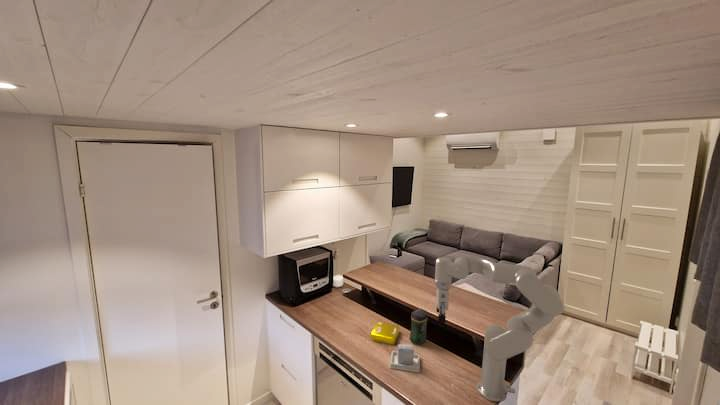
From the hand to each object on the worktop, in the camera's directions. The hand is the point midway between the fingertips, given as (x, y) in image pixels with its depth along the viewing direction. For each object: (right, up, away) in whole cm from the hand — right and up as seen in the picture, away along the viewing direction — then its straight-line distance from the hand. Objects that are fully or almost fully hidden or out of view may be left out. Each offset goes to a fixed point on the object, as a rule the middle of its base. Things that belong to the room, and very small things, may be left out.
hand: (440, 317), depth 141 cm
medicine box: (-15, -28, +12) cm, 34 cm away
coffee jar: (-5, -26, +31) cm, 41 cm away
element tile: (-24, -26, +36) cm, 50 cm away
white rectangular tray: (-15, -29, +12) cm, 35 cm away
